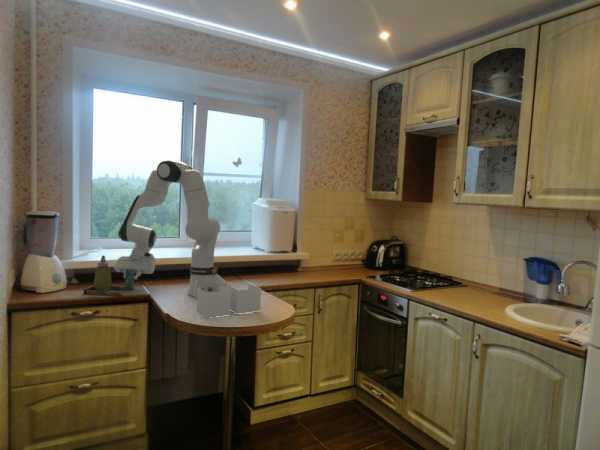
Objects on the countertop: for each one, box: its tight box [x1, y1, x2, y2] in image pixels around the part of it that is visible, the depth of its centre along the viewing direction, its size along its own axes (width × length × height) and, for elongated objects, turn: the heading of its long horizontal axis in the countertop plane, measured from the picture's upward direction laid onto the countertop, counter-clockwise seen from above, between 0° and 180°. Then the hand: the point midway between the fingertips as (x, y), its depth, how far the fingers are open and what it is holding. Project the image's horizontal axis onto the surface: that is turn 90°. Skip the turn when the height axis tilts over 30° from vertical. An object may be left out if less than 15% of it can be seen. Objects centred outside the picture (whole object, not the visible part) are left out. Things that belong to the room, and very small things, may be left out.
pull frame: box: [83, 269, 135, 297], centre depth 200 cm, size 18×15×10 cm
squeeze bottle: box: [93, 255, 113, 291], centre depth 199 cm, size 8×8×18 cm
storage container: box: [196, 283, 262, 319], centre depth 173 cm, size 25×11×11 cm, turn 122°
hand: (129, 278), depth 205 cm, fingers open, 4 cm apart
